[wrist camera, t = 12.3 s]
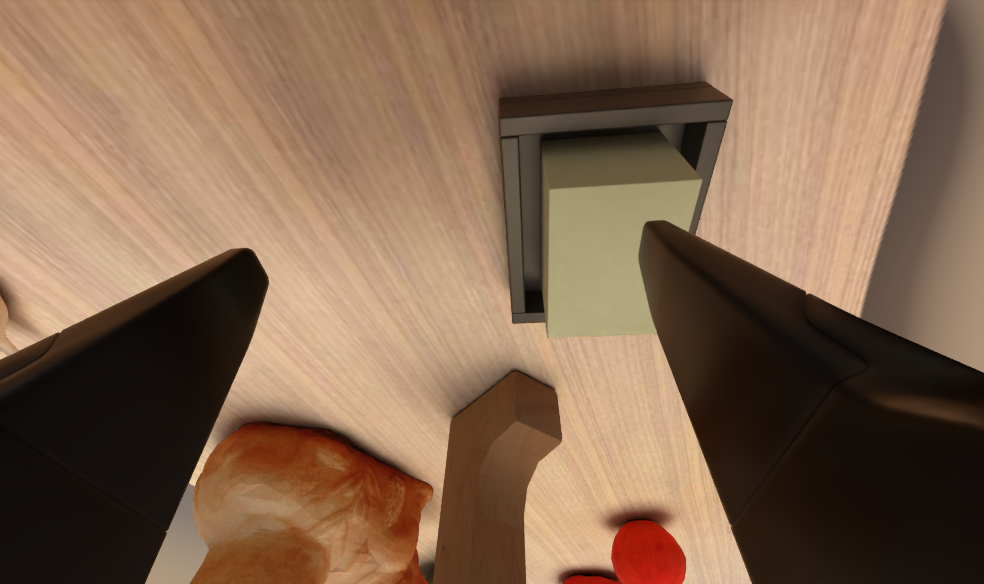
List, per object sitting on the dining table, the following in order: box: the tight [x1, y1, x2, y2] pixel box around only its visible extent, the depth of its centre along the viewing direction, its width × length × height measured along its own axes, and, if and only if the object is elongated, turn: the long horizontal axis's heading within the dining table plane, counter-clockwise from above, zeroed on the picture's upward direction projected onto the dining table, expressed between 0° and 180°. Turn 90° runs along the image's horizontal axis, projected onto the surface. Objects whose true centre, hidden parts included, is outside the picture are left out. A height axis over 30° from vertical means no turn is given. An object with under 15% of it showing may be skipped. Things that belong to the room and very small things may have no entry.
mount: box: [498, 82, 733, 324], centre depth 21 cm, size 12×9×3 cm
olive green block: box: [540, 132, 702, 338], centre depth 19 cm, size 8×6×5 cm
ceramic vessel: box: [190, 422, 433, 584], centre depth 37 cm, size 14×26×15 cm, turn 37°
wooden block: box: [433, 371, 562, 584], centre depth 27 cm, size 9×4×18 cm, turn 143°
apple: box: [611, 520, 686, 584], centre depth 46 cm, size 8×8×7 cm
